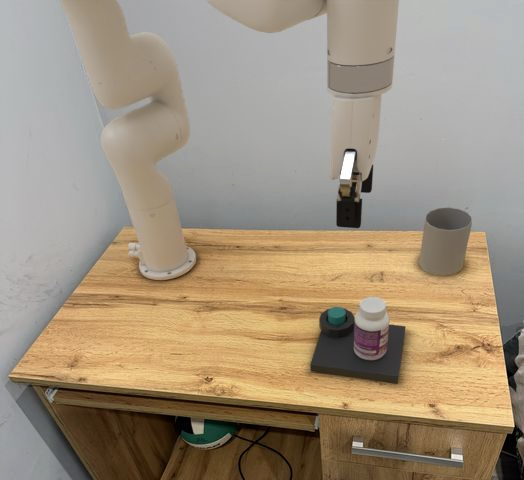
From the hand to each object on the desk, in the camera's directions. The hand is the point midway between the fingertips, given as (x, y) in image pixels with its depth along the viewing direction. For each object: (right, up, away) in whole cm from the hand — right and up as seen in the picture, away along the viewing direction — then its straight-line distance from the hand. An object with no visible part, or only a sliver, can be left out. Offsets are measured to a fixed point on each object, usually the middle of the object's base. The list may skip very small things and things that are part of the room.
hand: (354, 208), depth 70 cm
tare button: (0, -15, +16) cm, 22 cm away
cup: (+23, -3, +30) cm, 38 cm away
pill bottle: (+5, -20, +13) cm, 24 cm away
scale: (+3, -20, +15) cm, 25 cm away
